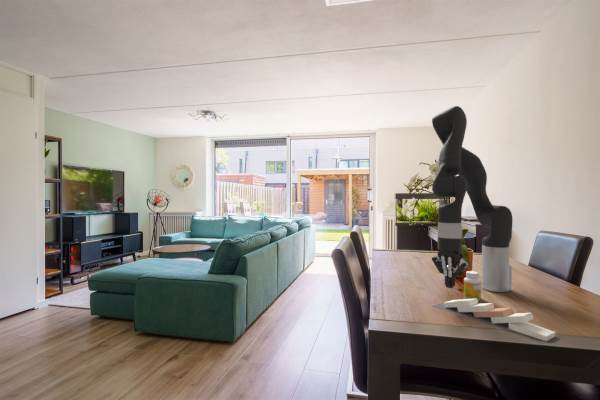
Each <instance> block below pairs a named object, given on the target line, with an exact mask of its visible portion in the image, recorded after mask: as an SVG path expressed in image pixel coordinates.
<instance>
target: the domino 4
mask: <svg viewBox="0 0 600 400" xmlns="http://www.w3.org/2000/svg"><path fill="white" fill-rule="evenodd" d="M532 320H534V315H533V313H532V312H517V313H516V312H515V313H514V312H513V314H511V315H508V316H505V317H491V321H492V323H524V322H529V321H532Z"/></svg>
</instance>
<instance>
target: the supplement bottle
mask: <svg viewBox="0 0 600 400" xmlns="http://www.w3.org/2000/svg"><path fill="white" fill-rule="evenodd" d="M465 276H466V277H464V278H463V299H473V298H477V300H478V301H480V300H481V299H482V296H481V295H482V292H481V291H482V287H481V286H482V280H481V279H480V278H479V272H478V271H472V270H466V272H465Z"/></svg>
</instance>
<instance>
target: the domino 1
mask: <svg viewBox="0 0 600 400" xmlns="http://www.w3.org/2000/svg"><path fill="white" fill-rule="evenodd" d="M442 303H443V304H444V308H448V307H467V306H472V305H475V304H479V300H477V298H473V299H466V298H462V299H461V298H460V299H452V300H448V301H444V302H442Z"/></svg>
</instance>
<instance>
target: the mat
mask: <svg viewBox="0 0 600 400" xmlns="http://www.w3.org/2000/svg"><path fill="white" fill-rule="evenodd" d="M443 303H444V302H442V303H438V304H435V305H432V307H434V308H437V309H440V310H443V311H445V312H449V313H451V314H454V315H457V316H461V317H464V318H466V319H469V320H473V321H475V322H478V323H481V324H484V325H487V326H491V327H494V328H496V329H499V330H502V331H506V332H512V330H511V329H509V323H492V321H491V317H474V313H473V312H458V309H457V307H448V308H444V304H443Z"/></svg>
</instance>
